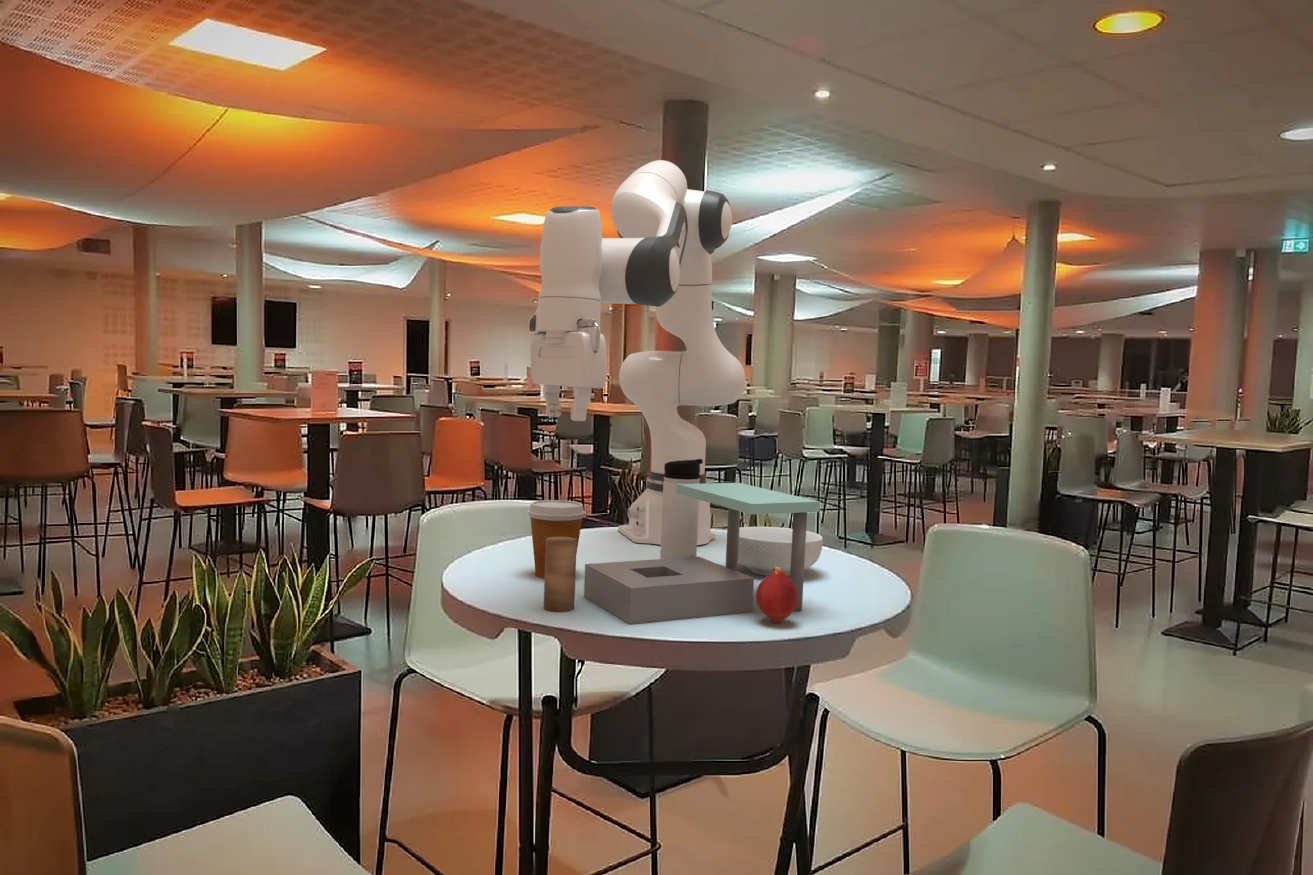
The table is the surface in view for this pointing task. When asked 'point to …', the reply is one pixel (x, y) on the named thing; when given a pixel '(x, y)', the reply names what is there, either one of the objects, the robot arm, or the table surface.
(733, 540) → the awning
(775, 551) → the cereal bowl
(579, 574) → the table surface
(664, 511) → the travel mug
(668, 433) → the robot arm
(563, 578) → the walnut peg
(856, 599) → the table surface
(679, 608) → the socket block
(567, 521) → the disposable coffee cup
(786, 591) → the onion
